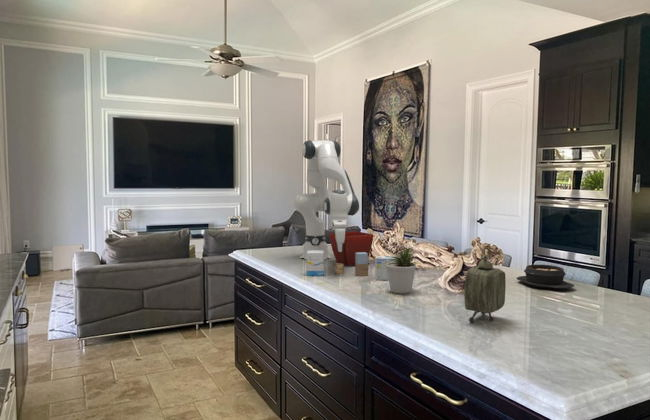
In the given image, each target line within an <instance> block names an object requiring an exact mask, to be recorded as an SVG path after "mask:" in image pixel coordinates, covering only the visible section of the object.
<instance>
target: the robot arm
mask: <svg viewBox="0 0 650 420" xmlns="http://www.w3.org/2000/svg"><path fill="white" fill-rule="evenodd" d="M341 150H342V149H341V145H340V143H339V142H338V141H336V140H335V141H334V140H326V139H322V140H319V139H317V140H306V141H304V142H303V144H302V148H301V153H302V156H303V158H305V159H307V169H306V182H307V185H308V186H310V187H311V188H313V189H314V191H315V192H314V193H307V192H306V193H300V194H297V195H296V196H295V198H294V200H293V205H294V208H295V210H296V211H298V213H300V215H302V217H303V218H304V222H305V237H304V239H305V242H304V243H303V244H302V255H300V256H299V259H301V258H304V259H303V260H307V251H311V250H322V251H324V260H327V258H329V259H332V255H330V254H329V245H328V243H327V242H326V239H327V238H326V233H325V227H326V226H325V221H324V220H323V219H322V218H320V217H318V216H317V214H316V213H317V212H325V214H326V215H327V216H328V215H329V216H330V227H332V230H334V233H335V239H336V242H337V248H338V251H339V252H342V243H344V240H345V232H346V229H347V227H348V226H349V216H355V215H356V214H357V213H358V212H359V210H360V202H359V199H358V198H357V195H356V194H355V191H354V187H353V185H352V183H351V179H350V176H349V175H348V173H347V171H346V170H345V168H343V167H342V166H341V165H340V162H339V157H340V155H341V152H342V151H341ZM327 179H329V180H332V181H335V182H337V183H339V184H340V185H341V187H342V189H343V190H342V189H336V190H332V191H330V190H329V188H328V186H327V181H326V180H327Z"/></svg>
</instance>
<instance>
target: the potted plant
mask: <svg viewBox="0 0 650 420" xmlns="http://www.w3.org/2000/svg"><path fill="white" fill-rule="evenodd" d="M407 245H408V244H407ZM407 245H406V246H405V247H403V251H402V249H401V247H399V246H397V247H398V249H399V251H400V252H398V251H396V250H395V252H396V253H397V254H399V255H397V254H396V255H395V256H397V257H392V258H395V259H389V260H391V261H394V260H395V261H394V262H391V263H387V264H386V268H387V272H388V278H389V280H388V286H389V290H390V292H392V293H394V294H399V295H400V294H401V295H403V294H409V293H411V292H412V290H413V284H414V278H415V273H416V269H417V268H416V267H417V264H419V260H416V261H414V262H413V259H411V257H412V256H413V254H414V253H416V252H417V250H415V251H414V252H412V253H411V244H409V247H408V246H407ZM396 261H397V262H396Z"/></svg>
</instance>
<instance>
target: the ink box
mask: <svg viewBox="0 0 650 420" xmlns="http://www.w3.org/2000/svg"><path fill="white" fill-rule="evenodd" d="M324 272H325V259H324V251H322V250H311V251H307V259H306V276H307V277H324V275H325V274H324ZM312 275H313V276H312Z"/></svg>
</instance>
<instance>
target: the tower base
mask: <svg viewBox="0 0 650 420" xmlns="http://www.w3.org/2000/svg"><path fill="white" fill-rule="evenodd" d="M354 274H356V275H355V277H369V263H368V264H357V263H355V265H354Z"/></svg>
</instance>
